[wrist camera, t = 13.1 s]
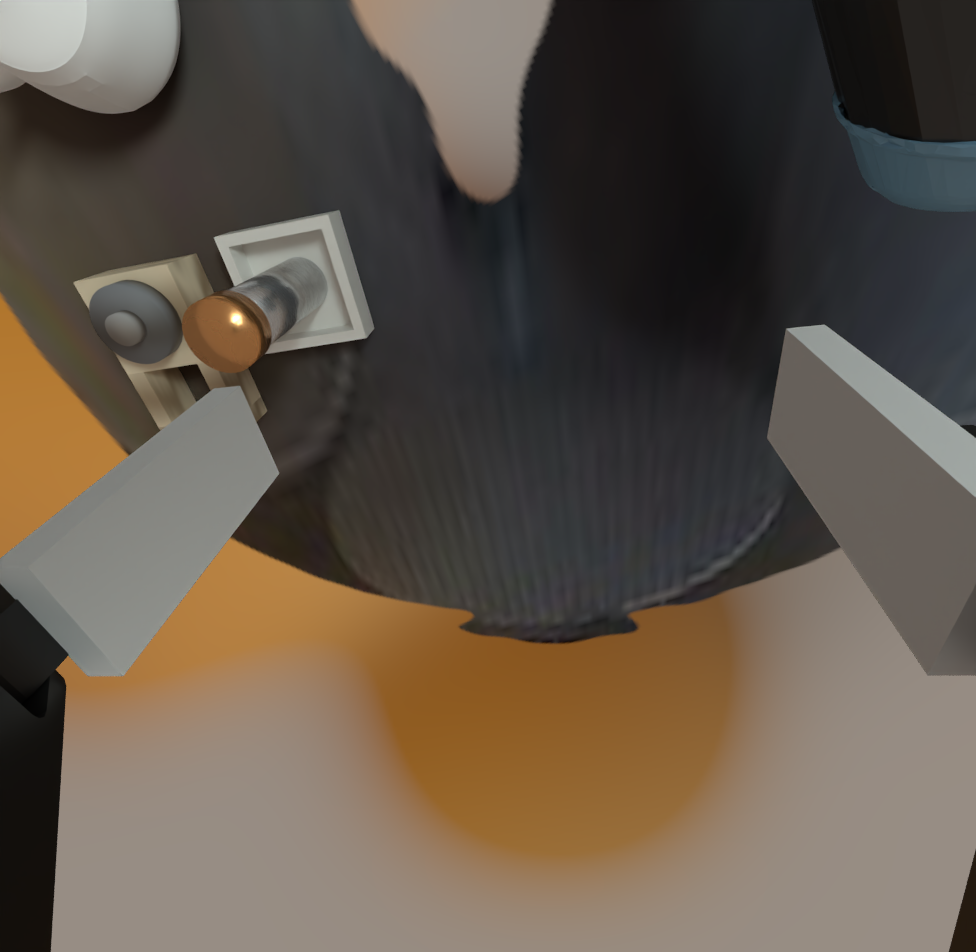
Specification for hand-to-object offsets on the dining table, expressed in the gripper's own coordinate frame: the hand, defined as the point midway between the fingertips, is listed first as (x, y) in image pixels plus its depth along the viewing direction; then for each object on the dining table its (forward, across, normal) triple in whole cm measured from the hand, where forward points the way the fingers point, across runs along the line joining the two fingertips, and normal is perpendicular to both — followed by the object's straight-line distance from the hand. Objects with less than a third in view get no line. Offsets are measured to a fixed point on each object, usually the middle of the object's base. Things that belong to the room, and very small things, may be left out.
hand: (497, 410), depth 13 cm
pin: (+29, -18, -2) cm, 35 cm away
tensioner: (+30, -30, -6) cm, 43 cm away
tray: (+30, -19, -2) cm, 35 cm away
